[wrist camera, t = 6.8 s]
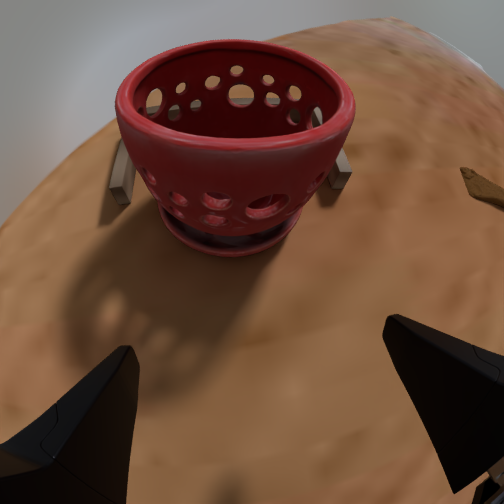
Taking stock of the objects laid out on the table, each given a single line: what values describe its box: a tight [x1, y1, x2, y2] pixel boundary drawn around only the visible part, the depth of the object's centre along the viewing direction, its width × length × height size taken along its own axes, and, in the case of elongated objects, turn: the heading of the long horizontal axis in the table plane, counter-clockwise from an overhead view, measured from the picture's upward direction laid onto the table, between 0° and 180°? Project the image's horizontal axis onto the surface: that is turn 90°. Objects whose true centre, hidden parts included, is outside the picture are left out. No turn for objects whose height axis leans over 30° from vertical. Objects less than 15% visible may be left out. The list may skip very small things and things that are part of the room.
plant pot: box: [115, 39, 356, 257], centre depth 17 cm, size 13×13×12 cm
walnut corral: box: [109, 98, 352, 205], centre depth 24 cm, size 11×20×2 cm, turn 97°
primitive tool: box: [460, 167, 504, 207], centre depth 26 cm, size 19×6×4 cm, turn 83°
